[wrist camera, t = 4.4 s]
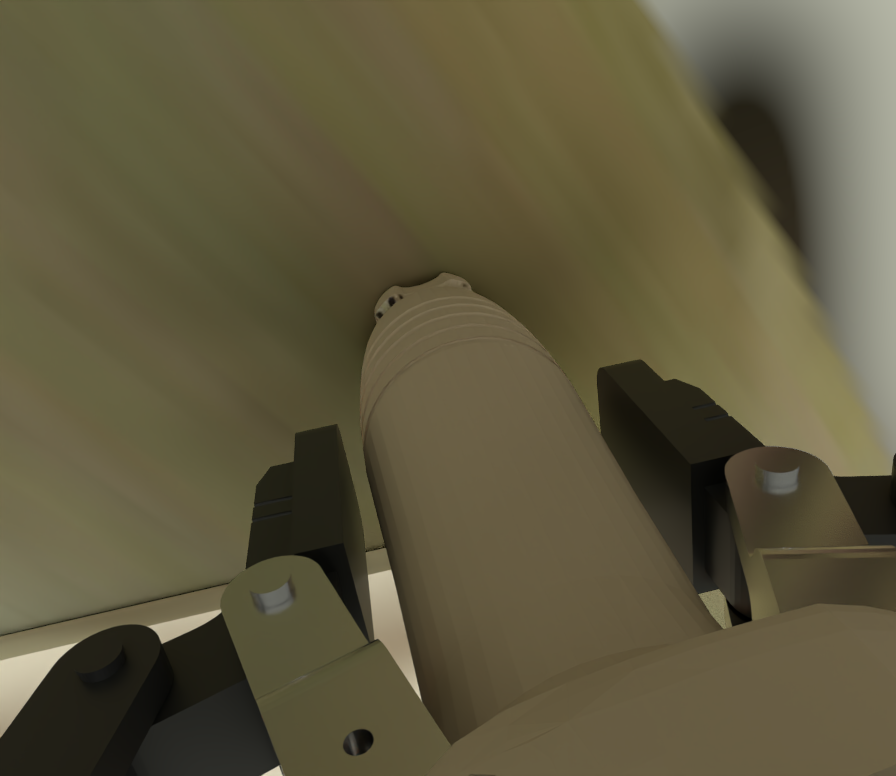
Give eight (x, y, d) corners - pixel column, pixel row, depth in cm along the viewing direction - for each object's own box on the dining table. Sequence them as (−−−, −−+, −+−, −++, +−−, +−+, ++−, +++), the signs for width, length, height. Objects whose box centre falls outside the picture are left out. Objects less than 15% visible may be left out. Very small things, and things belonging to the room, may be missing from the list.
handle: (266, 363, 18) (137, 1251, 5) (452, 164, 17) (975, 603, 4) (410, 473, 20) (606, 1332, 7) (586, 301, 19) (1258, 926, 5)
